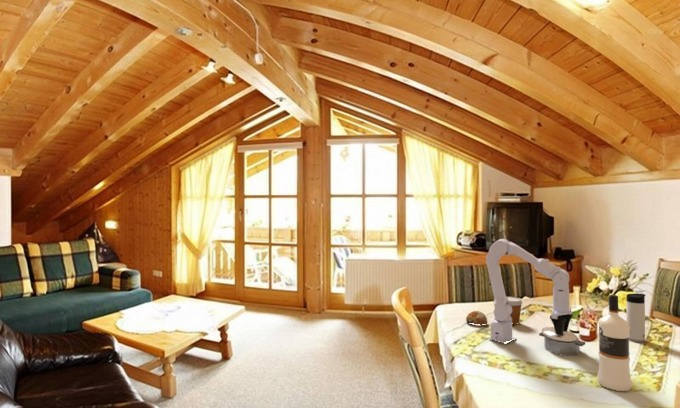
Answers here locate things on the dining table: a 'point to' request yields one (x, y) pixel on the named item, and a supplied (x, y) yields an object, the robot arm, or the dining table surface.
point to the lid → (564, 337)
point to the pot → (562, 346)
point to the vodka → (614, 350)
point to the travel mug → (636, 317)
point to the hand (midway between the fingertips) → (561, 332)
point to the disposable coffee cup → (515, 308)
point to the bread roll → (476, 318)
